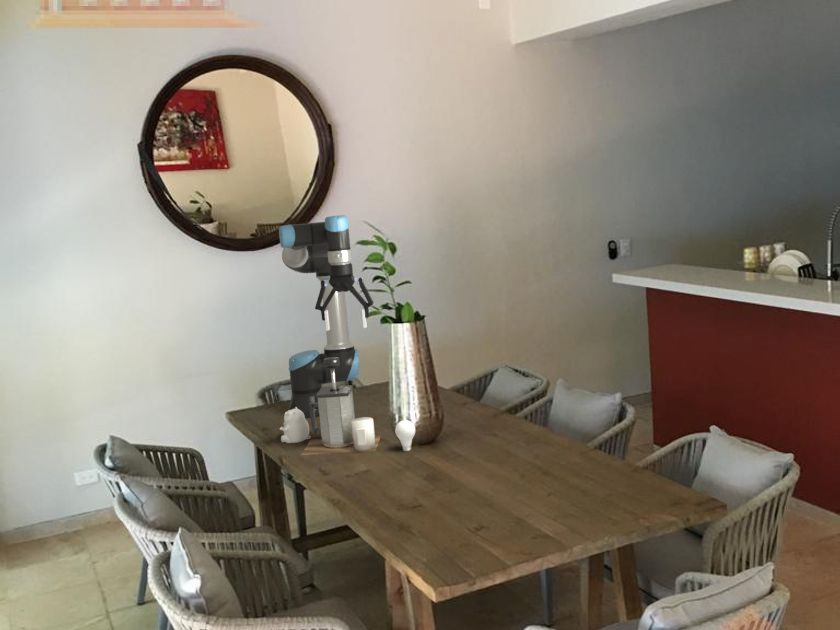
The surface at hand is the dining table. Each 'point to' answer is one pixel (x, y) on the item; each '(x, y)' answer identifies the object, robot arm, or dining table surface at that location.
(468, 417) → the dining table surface
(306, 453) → the board
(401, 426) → the lightbulb
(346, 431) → the carafe
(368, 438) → the mug
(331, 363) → the plunger
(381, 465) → the dining table surface
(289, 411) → the figurine
